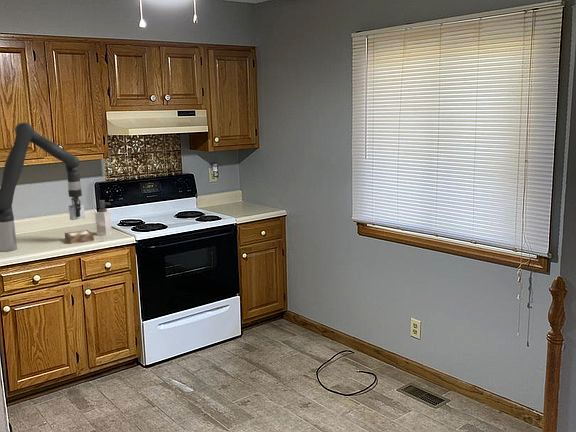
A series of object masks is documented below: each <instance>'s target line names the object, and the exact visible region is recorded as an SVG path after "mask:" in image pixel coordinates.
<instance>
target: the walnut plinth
mask: <svg viewBox="0 0 576 432" xmlns="http://www.w3.org/2000/svg"><path fill="white" fill-rule="evenodd" d="M64 239H65V241H66V240H67V241H66V242H68V244H70V245H71V244H72V245H73V244H79V243H87V242H92V241H93V242H94V241H95V237H94V233H93V232H91V231H89V230H88V229H85V230H79V231H72V232H69V231H68V232H64Z"/></svg>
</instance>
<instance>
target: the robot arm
mask: <svg viewBox="0 0 576 432" xmlns="http://www.w3.org/2000/svg"><path fill="white" fill-rule="evenodd" d="M14 133H15V138H14V142H13V145H12V148H11V150H9V153H8V156H7V158H6V160H5V163H4V166H3V171H2V177H1V179H2V180H1V186H0V252H12V251H15V250H17V249H18V245H17V235H16V227H15V219H14V213H13V206H12V205H13V202H14V195H15V190H16V187H17V184H18V182H19V179H20V177H21V174H22V172H23V168H24V164H25V161H26V157H27V151H28V147H29V145H30V143H32V144H34V145H35V146H37V147H38V148H40V149H41V150H43V151H44V152H46V153H47V154H49V155H50V156H52V157H54V158H55V159H57V160H58V161H61V162H62V163H64V165H65V169H66V176H67V193H68V197H69V198H70V200H71V205H74V207H75V210H76V217H80V210H81V204H82V203H81V199H80V198H79V197H82V196H83V194H82V193H83V191H82V184H81V176H80V172H79V169H78V167H79V165H80V159H79V158H78V157H77V156H76V155H74V154H72V153H70V152H68V151H67V150H65V149H64V148H63V147H61V146H60V145H59V144H56V143H54V142H53V141H51V140H50V139H47V138H46V137H44V136H43V135H41V134H40V133H38V132H37V131H36V130H34V128H33V126H32V125H31V124H30V123H27V122H19V123H18V124H16V126H15V127H14ZM77 207H79V208H77Z"/></svg>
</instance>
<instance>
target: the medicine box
mask: <svg viewBox="0 0 576 432" xmlns="http://www.w3.org/2000/svg"><path fill="white" fill-rule="evenodd" d="M80 204H81V210H80V217H76V210H75V207H74V205H72V204H71V205H68V211H69V212H68V213H69V214H68V215H69V220H71V221H76V220H83V219H86V216H85V215H86V214H85V205H84V204H83V203H80ZM77 208H79V207H77Z"/></svg>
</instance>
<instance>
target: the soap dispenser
mask: <svg viewBox="0 0 576 432" xmlns="http://www.w3.org/2000/svg"><path fill="white" fill-rule="evenodd" d="M105 201H106V200H105V199H99V200H98V202H99V209H98V211H97V212H95V222H96V223H95V226H96V235H97V236H108V235H111V234H113V230H112V218H111V211H110V210H107V208H106V206H110V205H111V204H112V203H111V202H105Z"/></svg>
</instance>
